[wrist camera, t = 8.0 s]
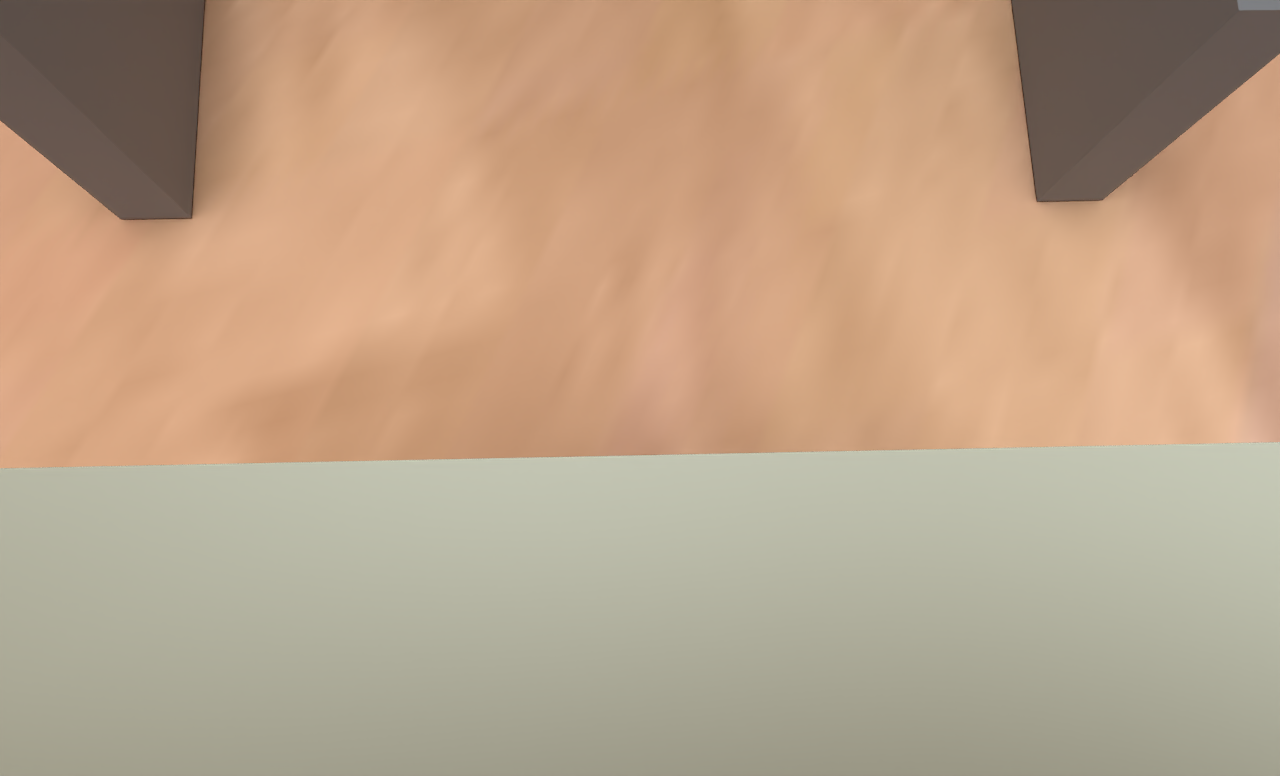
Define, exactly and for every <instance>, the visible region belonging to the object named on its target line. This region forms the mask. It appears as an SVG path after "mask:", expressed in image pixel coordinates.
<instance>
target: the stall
mask: <svg viewBox="0 0 1280 776" xmlns="http://www.w3.org/2000/svg"><path fill="white" fill-rule="evenodd" d="M204 1H205V0H0V121H2V122H3V123H4V124H5V125H6V126H8V127H9V128H10V129H11V130H13V131H14V132H15V133H16V134H17V135H19V136H20V137H21V138H22V139H24V140H25V141H26V142H27V143H28V144H30V145H31V146H32V147H33V148H35V149H36V150H37V151H38V152H39V153H41V154H42V155H43V156H44V157H45V158H47V159H48V160H49V161H50V162H52V163H53V164H54V165H55V166H56V167H58V168H59V169H60V170H61V171H63V172H64V173H65V174H66V175H67V176H69V177H70V178H71V179H72V180H74V181H75V182H76V183H77V184H78V185H80V186H81V187H82V188H83V189H85V190H86V191H87V192H88V193H89V194H91V195H92V196H93V197H94V198H96V199H97V200H98V201H99V202H100V203H102V204H103V205H104V206H105V207H107V208H108V209H109V210H110V211H111V212H113V213H114V214H115V215H116V216H117V217H119V218H120V219H161V218H191V214H192V197H193V181H194V165H195V148H196V132H197V115H198V99H199V83H200V66H201V50H202V33H203V17H204ZM1012 6H1013V14H1014V22H1015V30H1016V38H1017V46H1018V54H1019V62H1020V69H1021V77H1022V85H1023V93H1024V101H1025V109H1026V117H1027V125H1028V133H1029V141H1030V149H1031V156H1032V164H1033V172H1034V180H1035V188H1036V196H1037V201H1075V200H1103V199H1104V198H1105V197H1106V196H1108V195H1109V194H1110V193H1111V192H1113V191H1114V190H1115V189H1116V188H1117V187H1119V186H1120V185H1121V184H1122V183H1123V182H1125V181H1126V180H1127V179H1128V178H1129V177H1131V176H1132V175H1133V174H1134V173H1136V172H1137V171H1138V170H1139V169H1140V168H1142V167H1143V166H1144V165H1145V164H1146V163H1148V162H1149V161H1150V160H1151V159H1152V158H1154V157H1155V156H1156V155H1157V154H1159V153H1160V152H1161V151H1162V150H1163V149H1165V148H1166V147H1167V146H1168V145H1169V144H1171V143H1172V142H1173V141H1174V140H1176V139H1177V138H1178V137H1179V136H1180V135H1182V134H1183V133H1184V132H1185V131H1186V130H1188V129H1189V128H1190V127H1191V126H1192V125H1194V124H1195V123H1196V122H1197V121H1199V120H1200V119H1201V118H1202V117H1203V116H1205V115H1206V114H1207V113H1208V112H1209V111H1211V110H1212V109H1213V108H1214V107H1215V106H1217V105H1218V104H1219V103H1220V102H1222V101H1223V100H1224V99H1225V98H1226V97H1228V96H1229V95H1230V94H1231V93H1232V92H1234V91H1235V90H1236V89H1237V88H1239V87H1240V86H1241V85H1242V84H1243V83H1245V82H1246V81H1247V80H1248V79H1249V78H1251V77H1252V76H1253V75H1254V74H1255V73H1257V72H1258V71H1259V70H1260V69H1262V68H1263V67H1264V66H1265V65H1266V64H1268V63H1269V62H1270V61H1271V60H1272V59H1274V58H1275V57H1276V56H1277V55H1279V54H1280V0H1012Z"/></svg>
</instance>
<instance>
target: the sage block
mask: <svg viewBox="0 0 1280 776" xmlns="http://www.w3.org/2000/svg"><path fill="white" fill-rule="evenodd" d="M0 776H1280V442H1269V443H1220V444H1171V445H1122V446H1073V447H1025V448H976V449H927V450H878V451H829V452H781V453H732V454H683V455H634V456H585V457H536V458H488V459H439V460H390V461H341V462H292V463H244V464H195V465H146V466H97V467H48V468H0Z"/></svg>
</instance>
